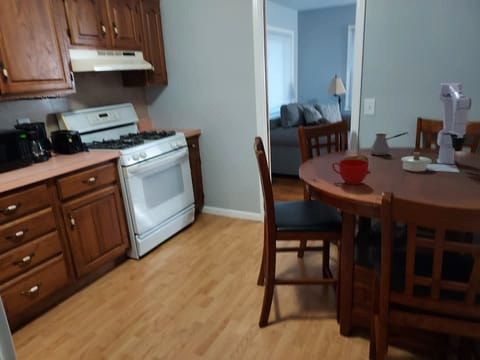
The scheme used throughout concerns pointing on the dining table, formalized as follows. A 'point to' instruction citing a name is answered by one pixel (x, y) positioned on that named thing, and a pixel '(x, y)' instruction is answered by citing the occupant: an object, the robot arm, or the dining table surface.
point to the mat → (442, 167)
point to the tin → (357, 157)
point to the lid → (416, 159)
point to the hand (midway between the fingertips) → (456, 149)
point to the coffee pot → (382, 144)
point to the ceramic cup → (352, 170)
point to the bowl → (414, 167)
